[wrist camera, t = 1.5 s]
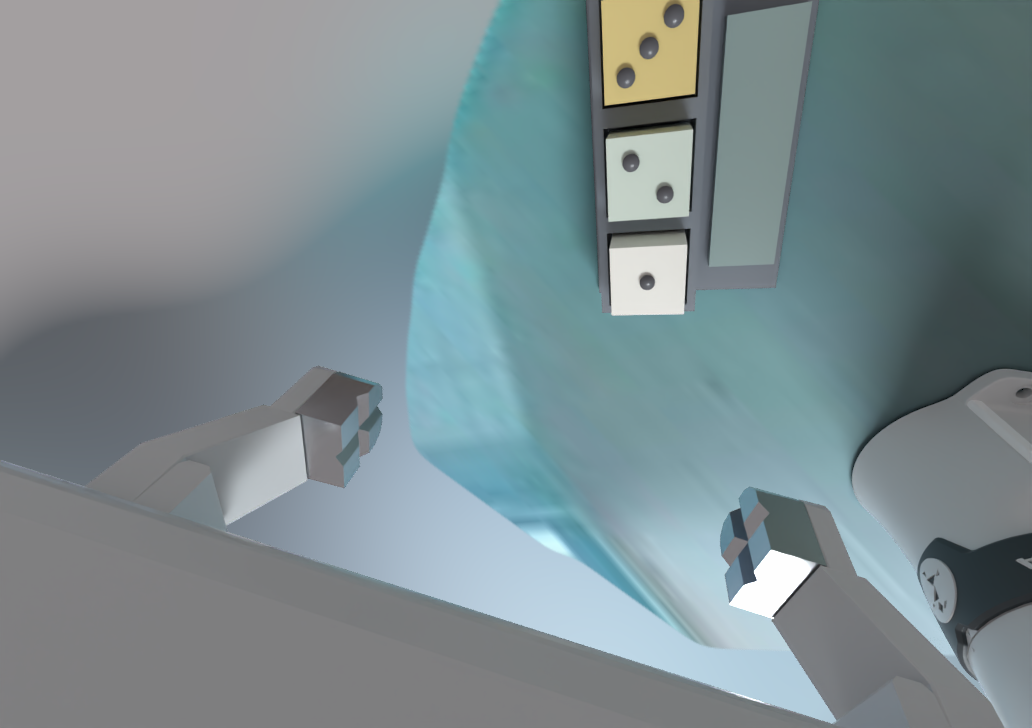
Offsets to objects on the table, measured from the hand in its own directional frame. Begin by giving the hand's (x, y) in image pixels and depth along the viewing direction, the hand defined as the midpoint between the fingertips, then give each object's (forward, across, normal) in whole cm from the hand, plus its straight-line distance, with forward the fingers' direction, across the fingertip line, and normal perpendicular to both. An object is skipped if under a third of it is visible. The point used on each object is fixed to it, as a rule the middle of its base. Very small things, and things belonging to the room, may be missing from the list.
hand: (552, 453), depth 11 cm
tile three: (+24, 0, -8) cm, 25 cm away
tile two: (+24, -2, -2) cm, 24 cm away
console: (+27, -4, -3) cm, 27 cm away
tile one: (+24, -3, +4) cm, 25 cm away
